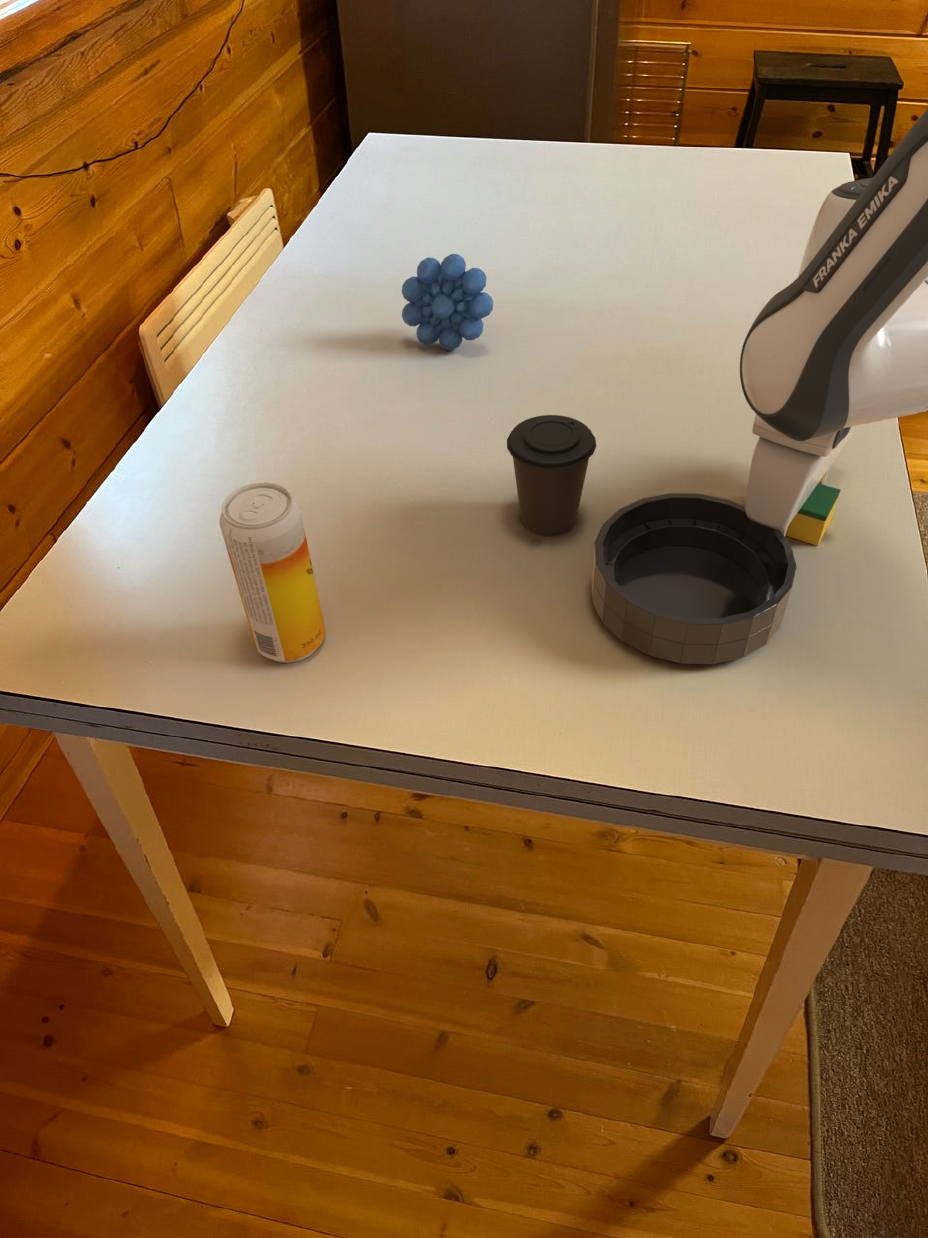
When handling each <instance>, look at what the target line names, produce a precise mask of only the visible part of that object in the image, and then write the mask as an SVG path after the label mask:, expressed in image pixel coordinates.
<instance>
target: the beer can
mask: <svg viewBox="0 0 928 1238" xmlns="http://www.w3.org/2000/svg"><path fill="white" fill-rule="evenodd" d="M218 523H219V527H220V530H221V535H222V537H223V540H224V544H225V547H226V551H227V555H228V558H229V562H230V565H231V568H232V569H231V570H232V571H233V575H234V578H235V582H236V586H237V589H238V591H239V596H240V600H241V603H242V606H243V610H244V613H245V616H246V620H247V624H248V627H249V630H250V633H251V637H252V641H253V645H254V647H255V649H256V651H257V652H258V653H259V654H260V655H262V656H263V657H265V658H267V659H269V660H272V661H274V662H277V663H283V664H289V663H290V664H291V663H296V662H299V661H302V660H305V659H307V658H308V657H310V656H311V655H312V654H313V653H314V652H315V651H316V650H318V648H319V647H320V646H321V645H322V643H323V641H324V639H325V636H326V625H325V621H324V616H323V612H322V611H323V610H322V606H321V602H320V596H319V592H318V587H317V582H316V578H315V573H314V568H313V564H312V558H311V554H310V548H309V544H308V539H307V534H306V529H305V525H304V521H303V515H302V511H301V506H300V504H299V502H298V501H297V500H296V499H295V498H294V496H293V494H292V493H291V492H290V490H289V489H288V488H287V487H285V486H283V485H281V484H278V483H275V482H266V481H261V482H253V483H249V484H246V485H243V486H240V487H238V488H236V489H234V490H233V491H232V492H230V493H229V494H228V495H227V496H226V497H225V499H224V500H223V502H222V504H221V513H220V516H219V522H218Z"/></svg>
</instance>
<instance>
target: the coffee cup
mask: <svg viewBox="0 0 928 1238" xmlns="http://www.w3.org/2000/svg"><path fill="white" fill-rule="evenodd" d="M506 449H507V451H508V452H509V454H510V456H511V457H512V461H513V468H514V476H515V483H516V491H517V492H516V493H517V498H518V505H519V514H520V522H521V524H522V526H523V527H524V528H525V529H526V530H527V531H528V532H530V533H532V534H535V535H537V536H540V537H541V536H542V537H556V536H557V537H558V536H561V535H564V534H566V533H568V532H570V531H571V530H572V529H573V528H574V527H575V525H576V522H577V520H578V519H577V518H578V513H579V509H580V504H581V499H582V495H583V491H584V486H585V480H586V476H587V471H588V465H589V460H590V458H591V457H592V456H593V455H594V453H595V450H596V449H597V440H596V437H595V436H594V433H593V431H592V430H591V429H590V428H589V426H587V425H586V424H585V423H583V422H582V421H580V420H578V419H575V418H573V417H570V416H565V415H559V414H544V415H543V414H541V415H537V416H533V417H530V418H527V419H525V420H523V421H521V422H519V423H518V424H517V425H515V427H513V429H512V430H511V431H510V433H509V435H508V437H507V439H506Z"/></svg>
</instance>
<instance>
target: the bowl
mask: <svg viewBox="0 0 928 1238" xmlns="http://www.w3.org/2000/svg"><path fill="white" fill-rule="evenodd" d="M797 568H798V567H797V562H796V558H795V555H794V551H793V548H792V544H791V543H790V542H789V540H788V539H787V537H784V535H783V534H782V533H781V531H780V530H776V529H773V528H770V527H767V526H764V525H761V524H759V523H756V522H754V521H752V520H750V519H749V518H748V517H747V515H746V512H745V505H743V504H741V503H739V502H736V501H733V500H731V499H728V498H724V497H720V496H719V497H718V496H714V495H710V494H705V493H697V492H668V493H663V494H657V495H652V496H647V497H643V498H640V499H637V500H635V501H633V502H631V503H629V504H626V505H625V506H623V507H620V508H619V509H617V510H616V511H615V512H614V513H613V514H612V515H611V516H610V517H609V518H607V520H605V521H604V522H603V523H602V525H601V527H600V529H599V531H598V534H597V537H596V539H595V541H594V546H593V557H592V571H591V602H592V604H593V607H594V609H595V611H596V613H597V615H598V616H599V618H600V621H601V622H602V624H604V626H605V627H607V628H608V630H609V631H611V633H612V634H614V635H615V636H616V637H617V638H618V639H619V640H620V641H621V642H623V643H625V644H627V645H628V646H630V647H632V648H634V649H636V650H638V651H640V652H642V653H643V654H646V655H647V656H650V657H654V658H657V659H661V660H665V661H668V662H669V661H670V662H674V663H678V664H682V665H683V664H689V665H691V664H692V665H716V664H720V663H726V662H729V661H733V660H739V659H743V658H745V657H746V656H749V655H750V654H752V653H754V652H755V651H757V650H759V649H761V648H762V647H764V646H766V645H767V644H768V643H769V641H770V640H771V639H772V638H773V637H774V636H775V634H776V633H777V632H778V630H779V629H780V628H781V626H782V623H783V619H784V616H785V613H786V609H787V605H788V603H789V600H790V596H791V592H792V589H793V586H794V581H795V576H796V572H797Z"/></svg>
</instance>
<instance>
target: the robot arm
mask: <svg viewBox="0 0 928 1238" xmlns="http://www.w3.org/2000/svg"><path fill="white" fill-rule="evenodd" d="M801 259H802V260H801V263H800V267H799V271H798V275H797V278H796V279H794V280H793V281H792V282H791V283H790V284H789V285H787V286H786V287H784V288H783V289H782V290H780V291H778V292H777V293H776V294H774V295H773V296H772V297H771V298H770V299H769V300H768V301H767V303H766V304H765V305H764V306H763V308H761V311H760V312H759V313H758V315H757V316H756V317H755V319H754V321H753V322H752V324H751V326H750V328H749V330H748V332H747V334H746V336H745V338H744V340H743V344H742V347H741V351H740V358H739V378H740V385H741V389H742V393H743V397H744V398H745V401H746V402H747V405H748V406H749V408H750V409H751V410H752V411H753V412H754V413H755V416H754V419H753V423H752V430H751V432H752V434H753V435H755V436H758V438H757V441H756V443H755V446H754V449H753V454H752V457H751V462H750V467H749V474H748V479H747V485H746V492H745V500H744V506H745V512H746V515H747V517H748V518H749V519H750V520H752V521H754V522H756V523H759V524H761V525H764V526H767V527H770V528H773V529H776V530H780V531H781V533H782V534H783V535H784V537H785V538H787V537H788V536H787V534H788V532H789V528H790V525H791V521H792V520H793V518H794V517H795V515H796V514H797V513H798V511H799V510H800V508H801V507H802V506H803V504H804V503H805V501H806V500H807V498H808V497H809V496H810V494H811V493H812V491H813V490H814V489H815V487H816V486H817V484H818V483H819V484H822V485H824V483H825V481H826V480H827V477H828V474H829V470H830V468H831V466H832V465H833V463H834V462H835V460H836V459H837V458H838V456H839V455H840V453H841V452H842V450H843V449H844V448H845V446H846V445H847V444H848V442H849V441H850V439H851V438H852V436H853V434H855V432H856V431H857V430H858V428H859V427H860V426H862V425H867V424H871V423H876V422H882V421H886V420H892V419H897V418H902V417H908V416H913V415H916V414H918V413H919V414H920V413H924V412H928V108H926V110H925V111H924V112H923V113H922V115H921V116H920V117H919V118H918V119H917V121H916V122H915V123H914V124H913V125H912V126H911V128H909V130H908V131H907V132H906V134H905V135H904V136H903V138H902V139H901V140H900V142H899V143H898V144H897V145H896V147H895V148H894V149H893V151H892V152H891V153H890V155H889V156H888V157H887V159H885V161H884V163H883V164H882V165H881V166H880V168H879V169H878V170H877V172H876V173H875V174H874V176H873V177H868V178H867V177H866V178H861V179H857V180H852V181H851V180H850V181H848V182H847V181H846V182H844V183H842V184H840V185H839V186H837V187H835V188H833V189H832V190H831V191H830V192H829V193H827V196H826V197H825V199H824V201H823V202H822V204H821V206H820V208H819V210H818V212H817V214H816V217H815V220H814V223H813V225H812V228H811V230H810V233H809V236H808V239H807V243H806V245H805V249H804V253H803V256H802V258H801Z"/></svg>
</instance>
